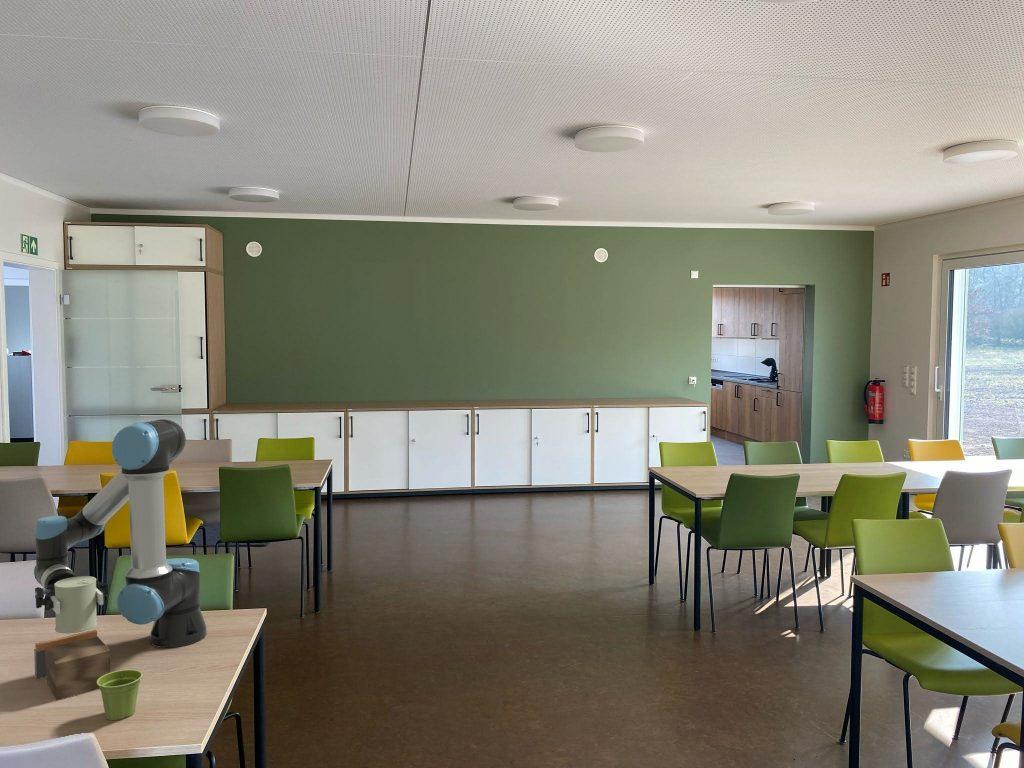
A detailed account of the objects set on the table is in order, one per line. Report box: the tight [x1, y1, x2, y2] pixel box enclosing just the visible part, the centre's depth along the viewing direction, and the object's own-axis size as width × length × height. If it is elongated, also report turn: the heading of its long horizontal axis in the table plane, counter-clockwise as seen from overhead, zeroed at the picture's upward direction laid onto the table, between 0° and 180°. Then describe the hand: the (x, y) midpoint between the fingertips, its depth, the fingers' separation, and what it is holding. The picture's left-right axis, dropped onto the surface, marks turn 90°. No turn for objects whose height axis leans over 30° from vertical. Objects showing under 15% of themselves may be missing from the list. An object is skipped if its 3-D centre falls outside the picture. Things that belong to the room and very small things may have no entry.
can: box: [54, 575, 98, 634], centre depth 188 cm, size 9×9×12 cm
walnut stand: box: [45, 636, 112, 701], centre depth 189 cm, size 12×12×9 cm
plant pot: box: [97, 669, 143, 721], centre depth 174 cm, size 9×9×9 cm
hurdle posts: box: [33, 635, 99, 679], centre depth 198 cm, size 14×2×7 cm, turn 132°
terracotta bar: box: [34, 629, 98, 651], centre depth 198 cm, size 14×2×2 cm, turn 132°
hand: (80, 603), depth 185 cm, fingers closed on can, 9 cm apart
